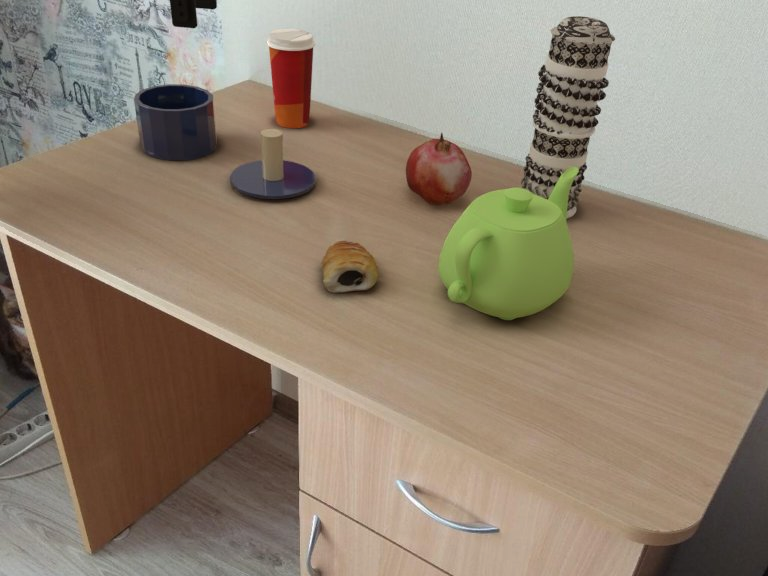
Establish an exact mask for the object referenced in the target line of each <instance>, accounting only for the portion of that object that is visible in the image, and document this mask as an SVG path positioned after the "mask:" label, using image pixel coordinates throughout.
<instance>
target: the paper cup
mask: <svg viewBox="0 0 768 576" xmlns="http://www.w3.org/2000/svg"><path fill="white" fill-rule="evenodd" d="M266 44H267V47H268V50H269V63H270V72H271V73H270V74H271V85H272V95H273V106H274V115H275V123H276V125H278V126H280V127H282V128H286V129H301V128H305V127H307V126H309V124H310V114H311V100H312V98H311V97H312V82H313V81H312V79H313V64H314V63H313V61H314V60H313V59H314V47H315V46H316V42H315V40H314V36H313V34H312V33H310V32H307V31H305V30H303V29H300V28H299V29H298V28H279V29H274V30H271V31H270V33H269V36H268V38H267V41H266Z"/></svg>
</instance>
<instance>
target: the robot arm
mask: <svg viewBox="0 0 768 576" xmlns="http://www.w3.org/2000/svg"><path fill="white" fill-rule="evenodd" d="M217 1H218V0H169V5H170V6H169V7H170V15H171V23H172V24H171V25H172V26H173V27H175V28H187V29H196V28H197V27H198V16H197V9H204V10H213V11H214V10H216V9H217V7H218V3H217Z"/></svg>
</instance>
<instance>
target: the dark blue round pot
mask: <svg viewBox="0 0 768 576" xmlns="http://www.w3.org/2000/svg"><path fill="white" fill-rule="evenodd" d="M214 102H215V101H214V95H213V93H211V92H210V91H209V90H208V89H206V88H203V87H200V86H197V85H196V86H195V85H190V84H182V83H180V84H179V83H176V84H174V83H173V84H171V83H167V84H159V85H153V86H150V87H147V88H143V89H141V90H140V91H138V92H136V93H135V95H134V98H133V103H134V111H135V116H136V123H137V130H138V131H137V132H138V137H139V145H140V146H141V150H142V151H143V152H144V154H146V155H147V156H150V157H152V158H155V159H160V160H164V161H175V162H176V161H190V160H196V159H200V158H203V157H206V156H208V155H210V154H211V153H213V152H214V151H216V149H217V146H218V144H217V143H218V141H217V139H218V137H217V127H216V126H217V125H216V116H215V115H216V113H215V103H214Z"/></svg>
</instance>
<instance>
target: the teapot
mask: <svg viewBox="0 0 768 576" xmlns="http://www.w3.org/2000/svg"><path fill="white" fill-rule="evenodd" d="M578 171H579V170H578V168H577V167H571V168H569V169H567V170H566V171H565V172H564V173H563V174H562V175H561V176H560V178H559V180H558V181H557V183H556V185H555V187H554V189H553V191H552V193H551V195H550V197H549V198H548V200H547V199H545V198H543V197H540V196H538V195H535V194H533V193H532V192H530V191H529V190H526V189H523V188H521V187H509V188H504V189H503V188H502V189H497V190H493V191H492V190H491V191H488V192H486V193H484V194H482V195H479V196H478V197H476V198H475V199H474V200H472V201H471V203H470V204H468V206H467V207H466V209H465V210H464V211H463V212H462V213H461V215H460V216H459V217H458V218H457V220H456V222H455V223H454V225H452V228H451V229H450V230H449V233H448V234H447V236H446V238H445V241H444V243H443V246H442V248H441V251H440V254H439V259H438V264H437V265H438V266H437V271H438V276H439V278H440V280H441V282H442V284H443V286H445V288H446V290H447V297H448V298H449V300H450V301H451V302H453V303H455V304H464V305H466V306H468V307H470V308H472V309H473V310H476V311H477V312H481V313H483V314H486V315H488V316H492V317H497V318H499V319H501V320H504V321H513V320H515V319H516V318H518V319H519V318H523V317H527V316H531V315H534V314H537V313H540V312H542V311H544V310H545V309H547V308H549V307H550V306H551V305H552V304H554V303H555V302H556V301H558V300H559V299H561V297H562V296H563V295H565V293H566V291H567V290H568V289H569V287H570V285H571V284H572V280H573V279H572V278H573V273H574V263H575V260H574V259H575V258H574V255H575V254H574V246H573V240H572V236H571V233H570V230H569V226H568V224H567V219H568V218H567V206H568V196H569V192H570V188H571V185H572V183H573V181H574V179H575V177H576V176H577V174H578Z"/></svg>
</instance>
